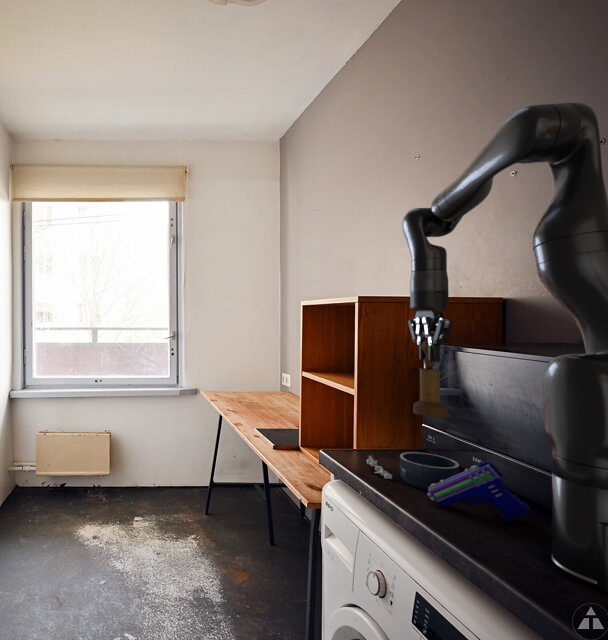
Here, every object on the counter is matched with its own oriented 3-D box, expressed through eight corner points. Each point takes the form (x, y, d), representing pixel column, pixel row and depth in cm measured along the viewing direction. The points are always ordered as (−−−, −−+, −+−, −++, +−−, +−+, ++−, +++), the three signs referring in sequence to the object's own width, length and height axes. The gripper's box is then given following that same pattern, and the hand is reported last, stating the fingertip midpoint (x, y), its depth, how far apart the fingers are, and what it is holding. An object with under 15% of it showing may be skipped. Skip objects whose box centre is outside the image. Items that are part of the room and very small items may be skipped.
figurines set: (393, 479, 99) (393, 467, 99) (380, 478, 99) (380, 467, 99) (372, 462, 111) (372, 452, 111) (361, 462, 111) (361, 451, 111)
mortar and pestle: (436, 412, 103) (435, 340, 103) (453, 418, 96) (453, 341, 96) (407, 411, 103) (407, 339, 103) (423, 417, 97) (422, 341, 97)
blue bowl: (471, 494, 91) (471, 469, 91) (417, 492, 92) (417, 467, 92) (438, 475, 102) (438, 452, 102) (390, 473, 103) (390, 451, 103)
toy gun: (534, 512, 75) (489, 462, 79) (461, 539, 82) (422, 492, 85) (530, 504, 79) (487, 456, 82) (460, 530, 85) (423, 485, 89)
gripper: (396, 292, 107) (397, 358, 107) (430, 287, 93) (431, 363, 93) (427, 292, 107) (428, 358, 106) (466, 287, 93) (467, 363, 92)
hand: (429, 360), depth 100 cm, fingers closed on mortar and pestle, 3 cm apart
